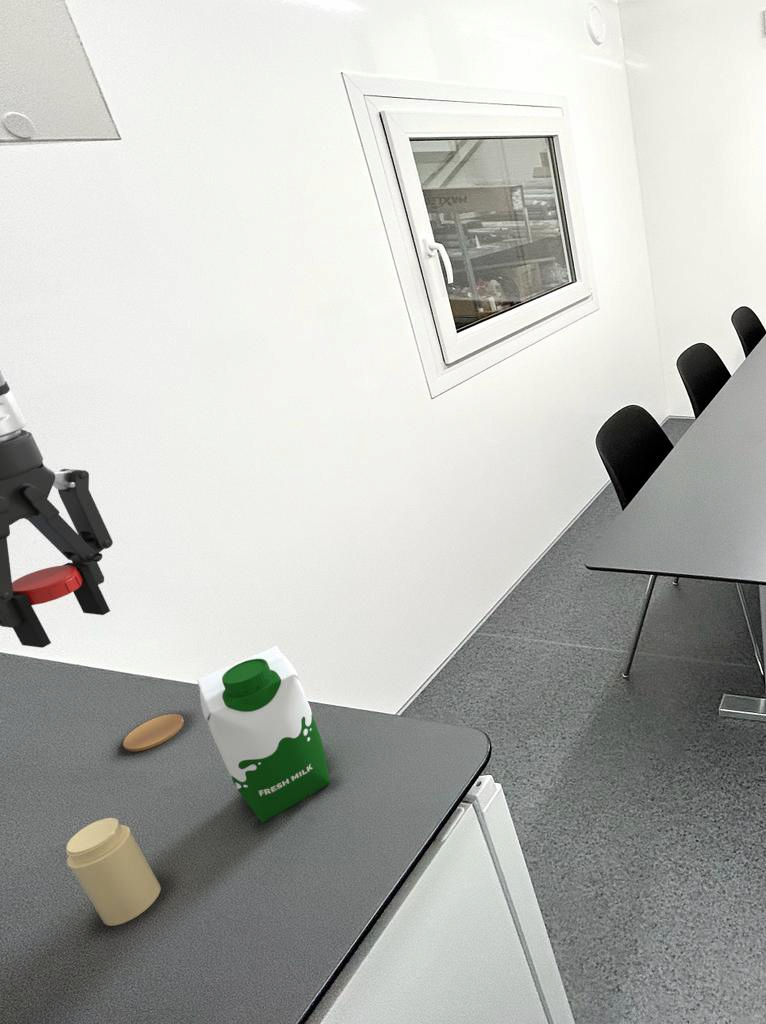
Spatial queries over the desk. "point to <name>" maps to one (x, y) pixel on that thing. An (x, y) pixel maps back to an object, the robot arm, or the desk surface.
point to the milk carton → (265, 732)
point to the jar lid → (48, 584)
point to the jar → (112, 871)
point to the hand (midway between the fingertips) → (67, 627)
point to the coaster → (153, 732)
